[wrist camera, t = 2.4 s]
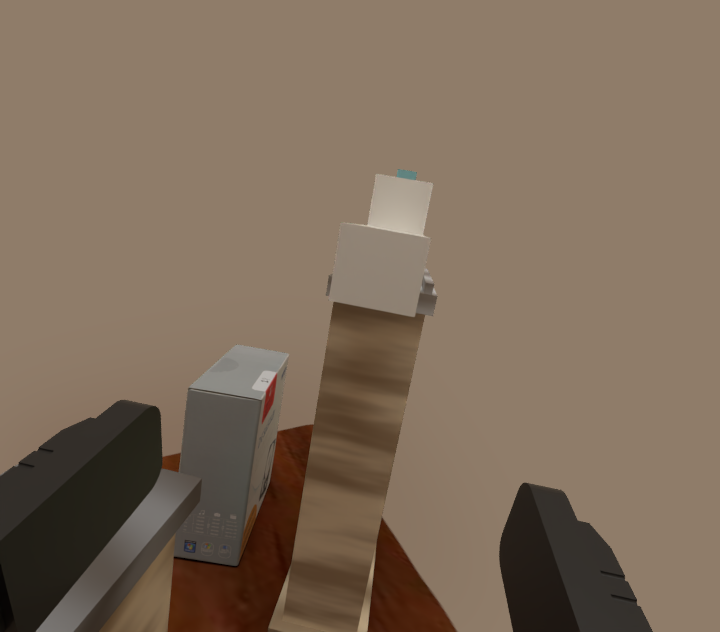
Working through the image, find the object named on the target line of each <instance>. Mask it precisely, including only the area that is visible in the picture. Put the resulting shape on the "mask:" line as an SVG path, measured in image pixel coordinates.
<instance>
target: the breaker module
mask: <svg viewBox="0 0 720 632" xmlns="http://www.w3.org/2000/svg"><path fill="white" fill-rule="evenodd" d="M416 175H417V172H412V171H406V170H400V169H398V172H397V177H393V176H386V175H381V174H376V179H375V184H374V190H373V196H372V202H371V207H370V214H369V219H368V225H360V224H352V223H343V222H341V225H340V231H339V238H338V244H337V250H336V257H335V262H334V269H333V275H332V281H331V288H330V294H329V301H334V302H339V303H344V304H349V305H354V306H359V307H365V308H370V309H375V310H380V311H385V312H390V313H395V314H401V315H406V316H411V317H415V313H416V308H417V304H418V299H419V294H420V289H421V285H422V280H423V275H424V270H425V265H426V261H427V255H428V251H429V246H430V241H431V238H429V237H426V236H423V232H424V227H425V221H426V217H427V212H428V207H429V203H430V197H431V193H432V188H433V183H428V182H422V181H416Z"/></svg>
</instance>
